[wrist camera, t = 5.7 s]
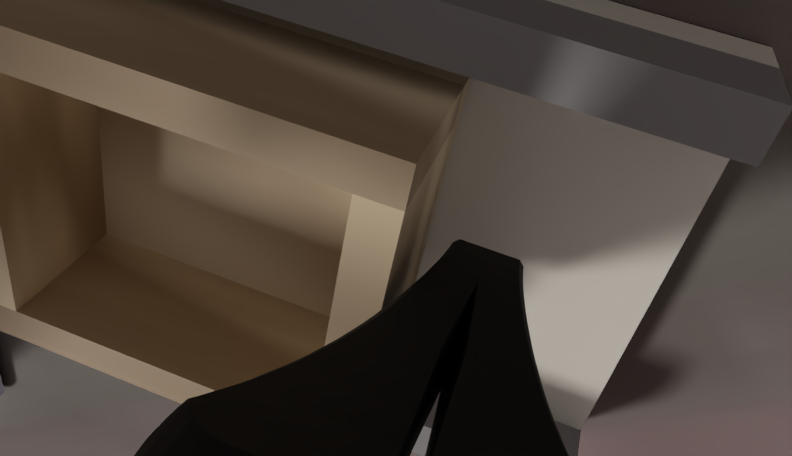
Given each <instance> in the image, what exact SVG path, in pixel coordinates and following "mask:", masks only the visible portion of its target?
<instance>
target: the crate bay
mask: <svg viewBox="0 0 792 456" xmlns="http://www.w3.org/2000/svg"><path fill="white" fill-rule="evenodd" d="M222 1H225V2H228V3H232V4H235V5H238V6H241V7H244V8H248V9H251V10H254V11H257V12H260V13H264V14H267V15H270V16H273V17H277V18H280V19H283V20H286V21H289V22H293V23H296V24H299V25H302V26H305V27H309V28H312V29H315V30H318V31H321V32H325V33H328V34H331V35H334V36H337V37H341V38H344V39H347V40H350V41H354V42H357V43H360V44H363V45H366V46H370V47H373V48H376V49H379V50H382V51H386V52H389V53H392V54H395V55H398V56H402V57H405V58H408V59H411V60H414V61H418V62H421V63H424V64H427V65H431V66H434V67H437V68H440V69H443V70H447V71H450V72H453V73H456V74H459V75H463V76H466V77H469V78H471V80H470V84H469V87H468V91H467V95H466V98H465V102H464V106H463V109H462V113H461V117H460V120H459V124H458V128H457V131H456V135H455V139H454V142H453V146H452V150H451V153H450V157H449V161H448V164H447V168H446V172H445V175H444V179H443V183H442V186H441V190H440V194H439V197H438V201H437V205H436V208H435V212H434V216H433V219H432V223H431V227H430V230H429V234H428V238H427V241H426V245H425V249H424V252H423V256H422V260H421V263H420V267H419V271H418V274H417V278H416V281H417V280H418V279H420V278H421V277H422V276H423V275H424V274H425V273H426V272H427V271H428V270H429V269H430V268H431V267H432V266H433V265H434V264H435V263H436V262H437V261H438V260H439V259H440V258H441V257H442V256H443V254H444V253H445V252H446V251H447V250H448V248H449V247H450V245H451V244H452V243H453V242H454V241H457V240H459V239H461V240H464V241H467V242H470V243H473V244H476V245H479V246H482V247H484V248H487V249H490V250H493V251H496V252H499V253H502V254H505V255H507V256H510V257H513V258H516V259H519V260H520V261H521V263H522V265H523V266H524V269H523V290H524V301H525V310H526V317H527V323H528V328H529V333H530V339H531V344H532V349H533V353H534V357H535V361H536V365H537V369H538V372H539V376H540V380H541V383H542V386H543V390H544V393H545V396H546V399H547V402H548V405H549V408H550V410H551V413H552V416H553V418H554V421H555V424H556V426H557V429H558V431H559V434H560V436H561V438H562V441H563V443H564V446H565V448H566V450H567V453H568V455H569V456H578V448H579V440H580V432H581V429H582V427H583V425H584V423H585V422H586V420H587V418H588V416H589V414H590V413H591V411H592V409H593V407H594V405H595V403H596V402H597V400H598V398H599V396H600V394H601V393H602V391H603V389H604V387H605V385H606V383H607V382H608V380H609V378H610V376H611V374H612V373H613V371H614V369H615V367H616V365H617V363H618V362H619V360H620V358H621V356H622V354H623V353H624V351H625V349H626V347H627V345H628V343H629V342H630V340H631V338H632V336H633V334H634V333H635V331H636V329H637V327H638V325H639V323H640V322H641V320H642V318H643V316H644V314H645V313H646V311H647V309H648V307H649V305H650V304H651V302H652V300H653V298H654V296H655V294H656V293H657V291H658V289H659V287H660V285H661V284H662V282H663V280H664V278H665V276H666V274H667V273H668V271H669V269H670V267H671V265H672V264H673V262H674V260H675V258H676V256H677V254H678V253H679V251H680V249H681V247H682V245H683V244H684V242H685V240H686V238H687V236H688V234H689V233H690V231H691V229H692V227H693V225H694V224H695V222H696V220H697V218H698V216H699V214H700V213H701V211H702V209H703V207H704V205H705V204H706V202H707V200H708V198H709V196H710V194H711V193H712V191H713V189H714V187H715V185H716V184H717V182H718V180H719V178H720V176H721V175H722V173H723V171H724V169H725V167H726V165H727V164H728V162H729V160H730V159H732V160H735V161H739V162H742V163H745V164H748V165H751V166H755V167H758V168H759V166H760V164H761V162H762V161H763V159H764V157H765V156H766V154H767V152H768V150H769V149H770V147H771V145H772V144H773V142H774V140H775V138H776V137H777V135H778V133H779V132H780V130H781V128H782V126H783V125H784V123H785V121H786V120H787V118H788V116H789V114H790V113H791V111H792V99H791V97H790V94H789V91H788V89H787V86H786V83H785V81H784V78H783V75H782V73H781V70H780V67H779V65H778V62H777V60H776V57H775V54H774V52H773V49H772V47H769V46H765V45H762V44H758V43H755V42H751V41H748V40H744V39H741V38H737V37H734V36H730V35H727V34H723V33H720V32H716V31H713V30H710V29H706V28H703V27H699V26H696V25H692V24H689V23H685V22H682V21H678V20H675V19H671V18H668V17H664V16H661V15H657V14H654V13H650V12H647V11H643V10H640V9H636V8H633V7H629V6H626V5H623V4H619V3H616V2H612V1H609V0H222ZM439 395H440V393H439ZM439 395H438V397H437V399H436V401H435V403H434V406H433V408H432V410H431V412H430V414H429V416H428V418H427V420H426V422H425V424H424V427H423V429H422V431H421V433H420V435H419V437H418V439H417V441H416V443H415V446H414V448H413V450H412V452H413V453H416V454H418V455H421V456H425V454H426V450H427V445H428V441H429V437H430V433H431V429H432V424H433V420H434V416H435V412H436V408H437V403H438V399H439Z"/></svg>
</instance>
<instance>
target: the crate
mask: <svg viewBox="0 0 792 456" xmlns="http://www.w3.org/2000/svg"><path fill="white" fill-rule="evenodd" d="M470 80H471V78H469V77H466V76H463V75H459V74H456V73H453V72H450V71H447V70H443V69H440V68H437V67H434V66H431V65H427V64H424V63H421V62H418V61H414V60H411V59H408V58H405V57H402V56H398V55H395V54H392V53H389V52H386V51H382V50H379V49H376V48H373V47H370V46H366V45H363V44H360V43H357V42H354V41H350V40H347V39H344V38H341V37H337V36H334V35H331V34H328V33H325V32H321V31H318V30H315V29H312V28H309V27H305V26H302V25H299V24H296V23H293V22H289V21H286V20H283V19H280V18H277V17H273V16H270V15H267V14H264V13H260V12H257V11H254V10H251V9H248V8H244V7H241V6H238V5H235V4H232V3H228V2H225V1H222V0H0V331H2V332H5V333H7V334H10V335H12V336H15V337H17V338H20V339H22V340H25V341H27V342H30V343H32V344H35V345H37V346H39V347H42V348H44V349H47V350H49V351H52V352H54V353H57V354H59V355H62V356H64V357H67V358H69V359H72V360H74V361H77V362H79V363H82V364H84V365H87V366H89V367H92V368H94V369H96V370H99V371H101V372H104V373H106V374H109V375H111V376H114V377H116V378H119V379H121V380H124V381H126V382H129V383H131V384H134V385H136V386H139V387H141V388H144V389H146V390H149V391H151V392H153V393H156V394H158V395H161V396H163V397H166V398H168V399H171V400H173V401H176V402H178V403H181V404H182V403H183V402H185V401H186V400H187V399H188V398H192V397H196V396H200V395H203V394H206V393H209V392H213V391H216V390H219V389H223V388H226V387H229V386H232V385H236V384H239V383H242V382H244V381H247V380H250V379H253V378H255V377H257V376H260V375H262V374H265V373H267V372H270V371H272V370H275V369H277V368H280V367H282V366H284V365H287V364H289V363H292V362H294V361H296V360H298V359H300V358H302V357H304V356H306V355H308V354H310V353H312V352H314V351H316V350H318V349H320V348H322V347H323V346H325V345H327V344H329V343H331V342H333V341H335V340H336V339H338V338H340V337H341V336H343V335H345V334H346V333H348V332H350V331H351V330H353V329H354V328H356V327H358V326H359V325H361V324H362V323H364V322H365V321H367V320H368V319H370V318H371V317H372V316H374V315H375V314H376V313H378V312H379V311H380V310H382V309H383V308H384V307H386V306H387V305H388V304H390V303H391V302H392V301H394V300H395V299H396V298H398V297H399V296H400V295H401V294H403V293H404V292H405V291H406V290H407V289H408V288H409V287H411V286H412V285H413V284H414V283H415V282H416V278H417V274H418V271H419V267H420V263H421V260H422V256H423V252H424V249H425V245H426V241H427V238H428V234H429V230H430V227H431V223H432V219H433V216H434V212H435V208H436V205H437V201H438V197H439V194H440V190H441V186H442V183H443V179H444V175H445V172H446V168H447V164H448V161H449V157H450V153H451V150H452V146H453V142H454V139H455V135H456V131H457V128H458V124H459V120H460V117H461V113H462V109H463V106H464V102H465V98H466V95H467V91H468V87H469V84H470Z"/></svg>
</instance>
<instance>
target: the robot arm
mask: <svg viewBox="0 0 792 456" xmlns="http://www.w3.org/2000/svg"><path fill="white" fill-rule="evenodd" d="M523 269H524V266H523V265H522V263H521V261H520V260H519V259H516V258H513V257H510V256H507V255H505V254H502V253H499V252H496V251H493V250H490V249H487V248H484V247H482V246H479V245H476V244H473V243H470V242H467V241H464V240H461V239H459V240H457V241H454V242H453V243H452V244H451V245H450V247H449V248H448V250H447V251H446V252H445V253H444V254H443V256H442V257H441V258H440V259H439V260H438V261H437V262H436V263H435V264H434V265H433V266H432V267H431V268H430V269H429V270H428V271H427V272H426V273H425V274H424V275H423V276H422V277H421V278H420V279H418V280H417V281H416V282H415V283H414V284H413V285H412V286H411V287H409V288H408V289H407V290H406V291H405V292H404V293H403V294H401V295H400V296H399V297H398V298H396V299H395V300H394V301H392V302H391V303H390V304H388V305H387V306H386V307H384V308H383V309H382V310H380V311H379V312H378V313H376V314H375V315H374V316H372V317H371V318H370V319H368V320H367V321H365V322H364V323H362V324H361V325H359V326H358V327H356V328H354V329H353V330H351V331H350V332H348V333H346V334H345V335H343V336H341V337H340V338H338V339H336V340H335V341H333V342H331V343H329V344H327V345H325V346H323V347H322V348H320V349H318V350H316V351H314V352H312V353H310V354H308V355H306V356H304V357H302V358H300V359H298V360H296V361H294V362H292V363H289V364H287V365H284V366H282V367H280V368H277V369H275V370H272V371H270V372H267V373H265V374H262V375H260V376H257V377H255V378H253V379H250V380H247V381H244V382H242V383H239V384H236V385H232V386H229V387H226V388H223V389H219V390H216V391H213V392H209V393H206V394H203V395H200V396H196V397H192V398H188V399H187V400H186V401H185V402H183V403H182V404H181V405H180V406H179V407H178V408H177V409H176V410H175V411H174V412H173V413H171V414H170V415H169V416H168V417H167V418H166V419H165V420H164V421H163V423H162V424H161V425H160V426H159V427H158V428H157V429H155V431H154V432H153V433H152V434H151V435H150V436H149V437H148V438H147V439H146V441H145V442H144V443H143V444H142V446H141V447H140V448H139V450H138V451H137V453H136V454H135V455H134V456H410V454H411V452H412V450H413V448H414V446H415V443H416V441H417V439H418V437H419V435H420V433H421V431H422V429H423V427H424V424H425V422H426V420H427V418H428V416H429V414H430V412H431V410H432V408H433V406H434V403H435V401H436V399H437V397H438V395H439V393H440V395H439V399H438V403H437V408H436V412H435V416H434V420H433V424H432V429H431V433H430V437H429V441H428V445H427V450H426V454H425V456H569V455H568V453H567V450H566V448H565V446H564V443H563V441H562V438H561V436H560V434H559V431H558V429H557V426H556V424H555V421H554V418H553V416H552V413H551V410H550V408H549V405H548V402H547V399H546V396H545V393H544V390H543V386H542V383H541V380H540V376H539V372H538V369H537V365H536V361H535V357H534V353H533V349H532V344H531V339H530V333H529V328H528V323H527V317H526V310H525V301H524V290H523ZM3 393H4V389H3V384H2V379H1V375H0V396H1V395H2V394H3Z"/></svg>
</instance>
